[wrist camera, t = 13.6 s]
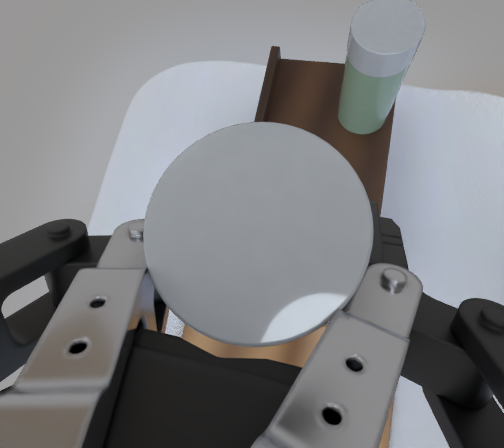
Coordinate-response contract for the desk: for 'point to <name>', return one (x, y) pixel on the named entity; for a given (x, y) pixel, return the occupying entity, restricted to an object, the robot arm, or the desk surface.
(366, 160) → the walnut shelf
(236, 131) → the pepper shaker
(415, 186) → the desk surface
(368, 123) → the salt shaker
